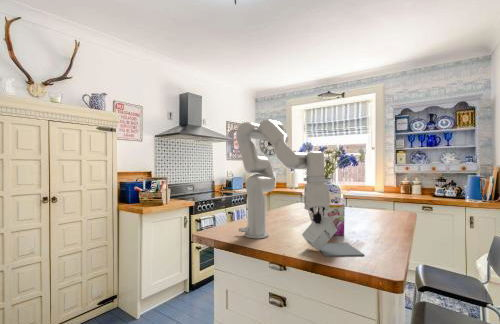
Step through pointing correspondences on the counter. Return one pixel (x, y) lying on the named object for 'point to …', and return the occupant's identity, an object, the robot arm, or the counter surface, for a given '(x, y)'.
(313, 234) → the supplement box
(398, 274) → the counter surface
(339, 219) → the candy bar box
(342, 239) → the counter surface
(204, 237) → the counter surface
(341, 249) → the mat
